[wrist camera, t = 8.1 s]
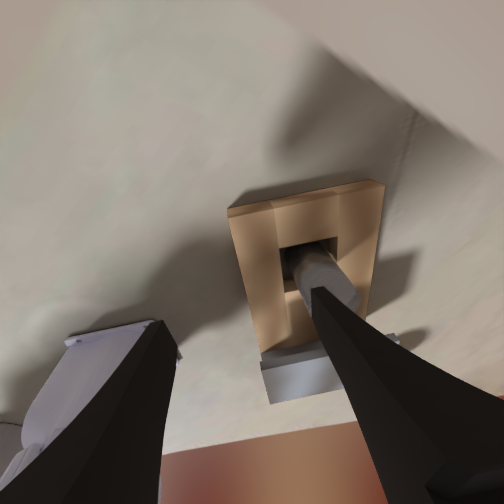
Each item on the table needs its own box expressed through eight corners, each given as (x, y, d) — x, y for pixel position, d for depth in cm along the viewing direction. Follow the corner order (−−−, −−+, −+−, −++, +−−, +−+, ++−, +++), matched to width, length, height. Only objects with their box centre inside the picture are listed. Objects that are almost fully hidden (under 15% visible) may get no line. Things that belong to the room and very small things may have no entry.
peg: (288, 272, 22) (312, 329, 16) (280, 242, 20) (305, 294, 14) (323, 262, 22) (361, 316, 16) (319, 230, 20) (360, 278, 14)
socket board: (259, 344, 28) (270, 404, 22) (227, 208, 18) (229, 251, 13) (354, 324, 28) (388, 378, 22) (370, 179, 18) (438, 208, 13)
